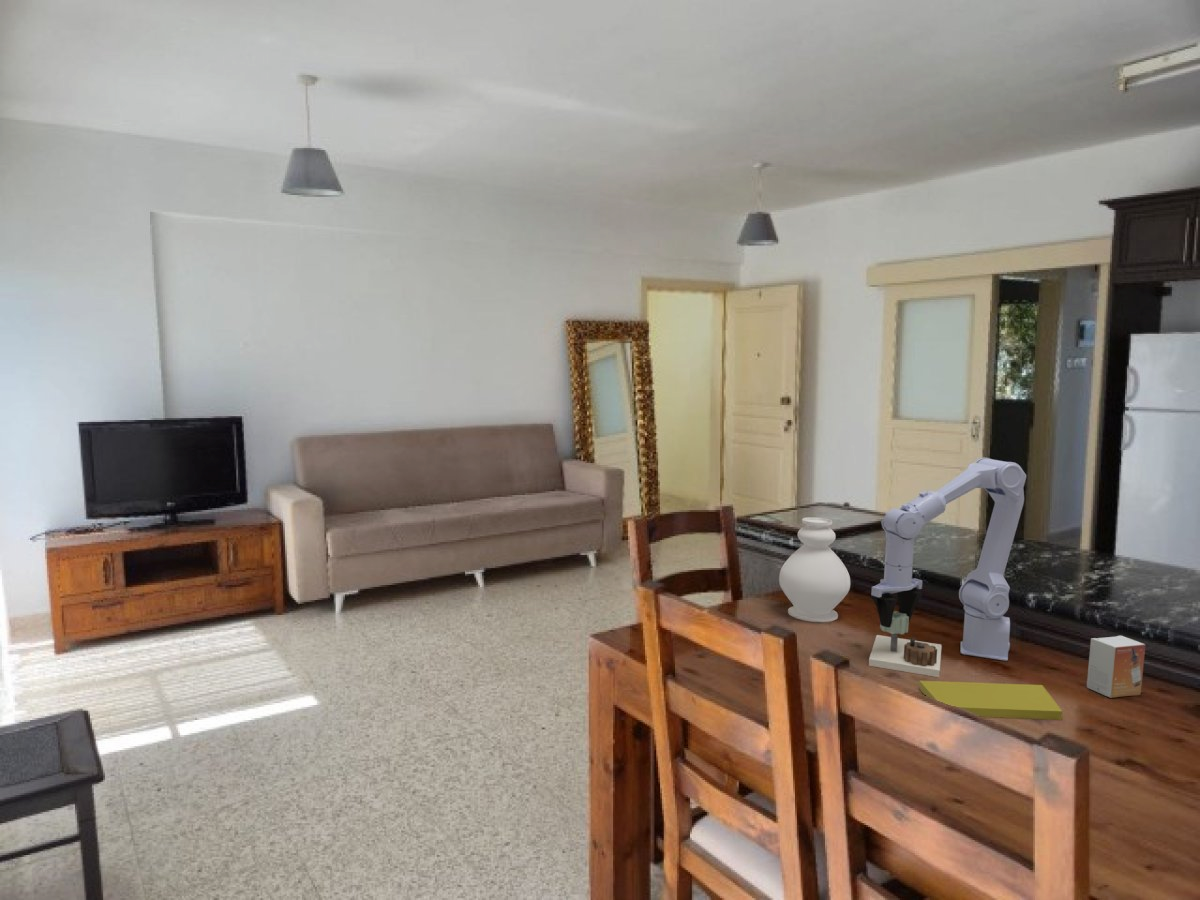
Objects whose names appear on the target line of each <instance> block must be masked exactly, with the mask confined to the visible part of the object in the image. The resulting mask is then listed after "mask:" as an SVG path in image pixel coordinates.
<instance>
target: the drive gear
mask: <svg viewBox="0 0 1200 900" xmlns="http://www.w3.org/2000/svg"><path fill="white" fill-rule="evenodd" d="M909 640H910V642H908V643H907V644H905V645H904V658H905V661H907V662H912V664H915V665H917V664H919V665H922V666H927V665H931V666H933V665H934V663H936V662H937V649H936V647H935V646H930V645H929V644H927V643H928V642H927V643H920V642H915V641H916V638H914V637H910V639H909Z"/></svg>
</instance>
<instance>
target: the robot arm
mask: <svg viewBox="0 0 1200 900" xmlns="http://www.w3.org/2000/svg"><path fill="white" fill-rule="evenodd" d="M1026 480H1027V474H1026V473H1025V471H1024V470H1023V468H1022V466H1020V465H1019V464H1018V463H1016V462H1014V461H1013V462H1012V461H1003V460H998V459H992V458H990V457H981V458H978V459H977V460H975V462H972V463H970V464H968V466H967V468H966V469H965V470H964V471H963V472H961V473H960V474H959V475H956V477H954V478H953V479H951V480H950V481H949V482H947V483H946V484H945V485H943V486H942V487H940V488H939V489H937V490H936V491H934V490H922V491H920V492H919V493H918V496H917V497H915V498H914V499H912V500H910V501H908V502H905V503H903V504H901V507H900V508H891V509H890V510H888V511H887V512H886V513H885V515H884V517H883V519H882V520H881V528H882V529H883V530H884V532H885V553H884V571H883V572H884V573H883V574H884V575H883V578H881V579H880V580H879V581H880V583H878V584H876V585H874V586H871V593H870V594H871V598H872V600H873V602H874V605H875V606H876V609H877V613H878V617H879V621H880V622H879V624H880V623H881V625H882V626H885V627H887V628H889V627H890V626H891V623H892V616H893V612H894V611H895V607H896V606H897V605H896V604H897V603H898V612H899V613H902V614H903V613H905V614H907V616H908V617H909V623H911V619H912V616H913V613H914V610H915V608H916V605H917V604H918V602H919V601H920V600H921V598H922V597H923V592H922V591H920V590H921V589H923V580H922V579H918V578H915V577H914V578H913V565H914V564H913V563H914V550H915V549H914V547H915V538H916V537H917V536H918V535H919V534H920V532H921V530H922V527H924V526H925V525H927V523H929V522H931V521H932V520H934V519H935V518H937V517H939V516H940V515H942V514H943V513H945V511H946V508H947V507H946V506H947V504H949V503H951V502H953V501H955V500H957V499H959V498H961V497H962V496H964V495H966V494H968V493H969V492H972V491H973V490H975V489H983V490H985V491H986V492H987V493H988V494H989V496H990V497H991V498H992V500H993V502H994V506H993V509H992V513H991V517H990V520H989V524H988V527H987V530H986V535H985V538H984V541H983V545H982V547H981V548H982V549H981V553H980V556H979V561H978V563H977V567H976V569H974V570H972V571H970V572H969V573H967V575H966V579H965V581H964V582H963V584H961V586H960V588H959V590H958V598H959V600H960V602H961V603H962V605H963V610H964V621H963V635H962V636H963V637H962V641H960V654H962V655H966V656H973V657H979V658H985V659H992V660H998V661H999V660H1000V661H1005V662H1007V661H1008V659H1009V651H1010V647H1011V642H1010V634H1011V633H1010V632H1011V620H1010V617H1008V616H1004V615H1005V614H1006V613H1007V611H1008V609H1009V606H1010V599H1009V598H1010V597H1009V595H1010V594H1009V593H1010V589H1011V587H1010V585H1009V584H1008V582H1007V580H1006V578H1005V577H1004V575H1005V572H1006V568H1007V563H1008V560H1009V558H1010V557H1009V556H1010V553H1011V549H1012V546H1013V543H1014V539H1015V535H1016V531H1017V528H1018V524H1019V521H1020V517H1021V514H1022V510H1023V507H1024V503H1025V494H1024V493H1025V491H1024V487H1025V484H1026ZM917 589H918V590H917ZM895 593H896V595H897V598H895V597H893V596H892V595H891V594H895Z"/></svg>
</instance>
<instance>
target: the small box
mask: <svg viewBox="0 0 1200 900" xmlns="http://www.w3.org/2000/svg"><path fill="white" fill-rule="evenodd" d="M1089 647H1090V648H1089V655H1088V656H1089V657H1088V669H1087V679H1086V688H1087V689H1089V690H1091V691H1094V692H1095V693H1096V692H1097V693H1099V694H1101V695H1103V696H1105V697H1107V698H1109V699H1113V698H1119V697H1129V696H1130V697H1131V696H1140V695H1141V693H1142V684H1143V673H1144V663H1145V655H1146V654H1145V652H1146V644H1145V643H1143V642H1139V641H1137V640H1135V639H1132V638H1129V637H1126V636H1123V635H1117V636H1109V637H1097V638H1096V637H1093V638H1090V645H1089Z"/></svg>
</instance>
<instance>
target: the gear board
mask: <svg viewBox="0 0 1200 900" xmlns="http://www.w3.org/2000/svg"><path fill="white" fill-rule="evenodd" d="M908 642H910V639H906V638H902V637H901V638H900V637H899V635H898V634H895V633H894V634H891V635H890V636H886V635H880V634H876V635H875V639H874V643H873V646H872V648H871V652H870V655H869V658H868V666H869V667H876V668H881V669H887V670H892V671H899V672H905V673H910V674H917V675H923V676H929V677H935V678H940V672H941V660H942V659H941V658H942V644H941V643H934V642H926V641H919V640H915V642H920V643H927V644H929V645H930V646H935V647H936V649H937V662H936V663H934V665H933V666H931V665H927V666H922V665H919V664H917V665H915V664H912V662H907V661H905V658H904V645H905V644H907V643H908Z"/></svg>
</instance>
